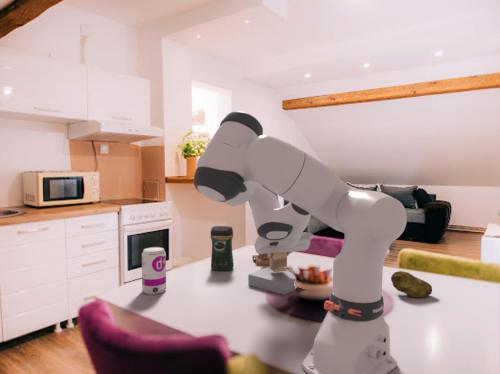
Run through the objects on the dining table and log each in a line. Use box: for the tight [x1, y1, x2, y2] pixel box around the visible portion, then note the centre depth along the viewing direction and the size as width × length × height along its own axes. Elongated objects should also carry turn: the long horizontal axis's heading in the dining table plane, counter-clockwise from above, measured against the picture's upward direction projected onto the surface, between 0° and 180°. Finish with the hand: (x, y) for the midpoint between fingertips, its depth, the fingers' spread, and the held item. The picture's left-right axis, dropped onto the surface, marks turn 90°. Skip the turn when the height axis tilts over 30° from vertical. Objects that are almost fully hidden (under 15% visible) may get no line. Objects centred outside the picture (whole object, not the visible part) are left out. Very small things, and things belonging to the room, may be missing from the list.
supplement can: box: [141, 246, 167, 296], centre depth 125 cm, size 8×8×15 cm
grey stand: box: [248, 266, 300, 296], centre depth 133 cm, size 16×16×4 cm
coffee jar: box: [209, 225, 235, 272], centre depth 152 cm, size 10×8×19 cm
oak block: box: [269, 252, 288, 272], centre depth 132 cm, size 5×5×10 cm
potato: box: [390, 270, 433, 298], centre depth 121 cm, size 8×13×8 cm, turn 63°
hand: (277, 255), depth 133 cm, fingers closed on oak block, 5 cm apart
